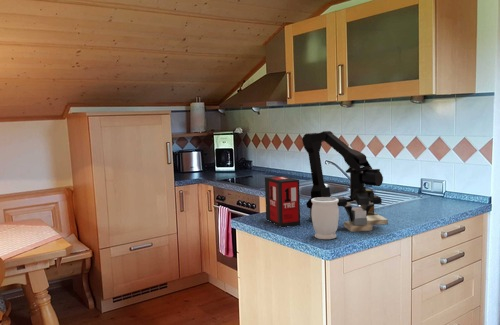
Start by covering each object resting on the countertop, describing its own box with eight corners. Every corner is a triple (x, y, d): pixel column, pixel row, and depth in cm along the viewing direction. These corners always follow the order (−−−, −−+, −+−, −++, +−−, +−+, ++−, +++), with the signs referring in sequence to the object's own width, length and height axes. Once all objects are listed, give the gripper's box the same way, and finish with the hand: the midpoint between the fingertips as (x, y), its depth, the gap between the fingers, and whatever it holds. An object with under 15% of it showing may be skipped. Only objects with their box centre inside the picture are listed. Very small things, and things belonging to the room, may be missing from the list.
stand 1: (350, 231, 179) (350, 226, 179) (343, 226, 188) (343, 221, 188) (372, 230, 180) (372, 225, 180) (364, 224, 189) (364, 220, 189)
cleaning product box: (300, 225, 192) (299, 179, 190) (281, 227, 189) (280, 181, 187) (283, 217, 207) (282, 175, 205) (266, 220, 204) (264, 177, 202)
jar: (309, 239, 170) (308, 201, 168) (315, 232, 179) (314, 196, 178) (336, 241, 166) (336, 202, 164) (341, 234, 176) (340, 197, 174)
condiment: (358, 214, 210) (357, 189, 208) (375, 213, 210) (375, 188, 209) (363, 217, 202) (363, 191, 201) (381, 216, 203) (381, 190, 202)
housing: (354, 226, 180) (354, 211, 179) (348, 221, 187) (348, 207, 186) (366, 225, 180) (366, 210, 180) (360, 221, 187) (360, 207, 187)
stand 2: (367, 225, 188) (367, 220, 188) (359, 220, 197) (359, 216, 197) (387, 224, 189) (387, 219, 189) (379, 219, 198) (379, 214, 197)
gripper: (341, 188, 173) (342, 227, 175) (387, 185, 175) (387, 224, 177) (333, 184, 184) (333, 220, 186) (376, 181, 186) (376, 218, 188)
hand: (357, 221), depth 183 cm, fingers closed on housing, 5 cm apart
